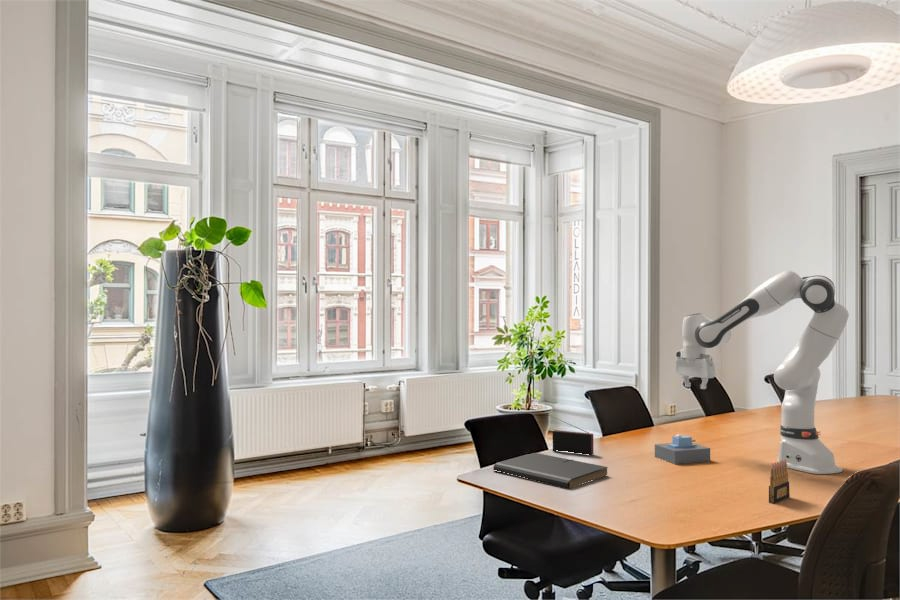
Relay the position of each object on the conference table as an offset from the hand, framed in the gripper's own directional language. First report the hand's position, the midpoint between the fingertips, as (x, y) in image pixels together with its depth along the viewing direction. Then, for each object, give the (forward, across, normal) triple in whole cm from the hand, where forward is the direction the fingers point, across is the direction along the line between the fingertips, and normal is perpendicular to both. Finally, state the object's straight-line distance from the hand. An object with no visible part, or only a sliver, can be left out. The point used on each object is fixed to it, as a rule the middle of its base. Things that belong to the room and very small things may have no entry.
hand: (695, 387), depth 270 cm
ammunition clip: (+28, -61, +18) cm, 70 cm away
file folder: (+27, -9, +70) cm, 76 cm away
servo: (+26, -5, +11) cm, 29 cm away
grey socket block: (+27, -5, +11) cm, 29 cm away
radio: (+26, +20, +47) cm, 57 cm away
